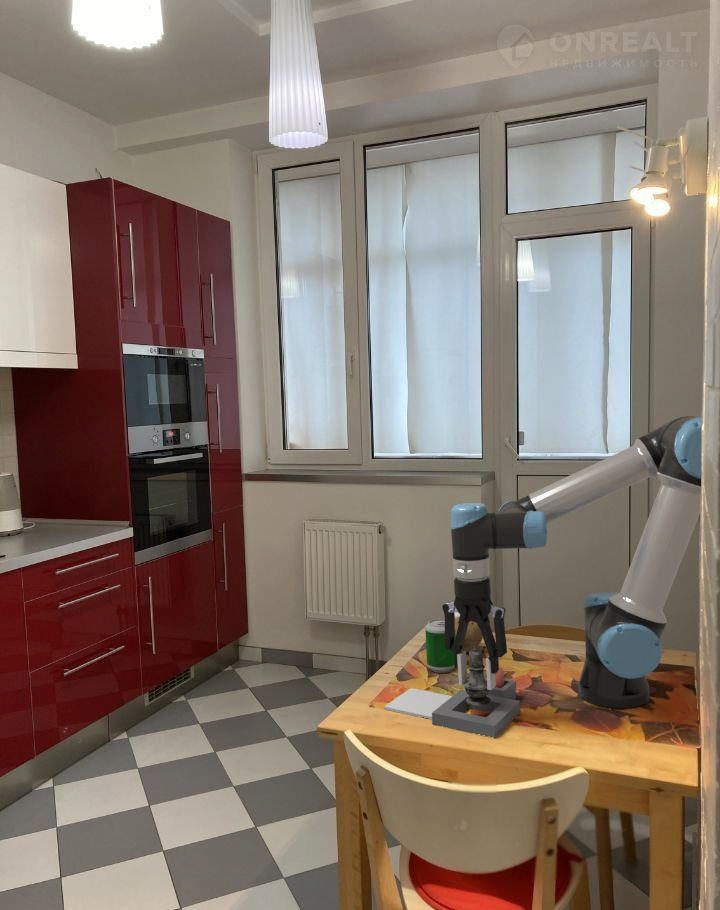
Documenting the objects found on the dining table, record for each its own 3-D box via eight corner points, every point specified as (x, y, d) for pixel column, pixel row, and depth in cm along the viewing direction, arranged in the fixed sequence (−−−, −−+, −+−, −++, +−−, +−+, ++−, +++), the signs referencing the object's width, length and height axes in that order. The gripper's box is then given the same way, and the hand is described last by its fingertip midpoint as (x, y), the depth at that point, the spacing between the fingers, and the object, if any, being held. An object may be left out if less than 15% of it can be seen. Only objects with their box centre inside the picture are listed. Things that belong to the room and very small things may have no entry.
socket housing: (531, 700, 166) (531, 683, 166) (494, 738, 148) (493, 718, 148) (474, 689, 173) (473, 673, 173) (432, 724, 156) (431, 705, 156)
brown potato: (442, 653, 199) (440, 617, 199) (460, 644, 206) (458, 609, 206) (471, 659, 194) (469, 622, 193) (488, 650, 200) (487, 613, 200)
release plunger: (506, 694, 167) (506, 668, 167) (500, 700, 164) (499, 673, 164) (491, 691, 169) (491, 666, 169) (485, 697, 166) (484, 671, 166)
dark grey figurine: (485, 708, 154) (482, 651, 153) (459, 703, 157) (456, 647, 156) (496, 697, 159) (493, 642, 158) (470, 693, 162) (467, 639, 161)
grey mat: (457, 699, 168) (457, 697, 168) (432, 719, 158) (432, 717, 158) (410, 690, 175) (410, 688, 175) (384, 709, 165) (384, 706, 165)
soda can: (455, 674, 184) (453, 627, 183) (425, 673, 185) (423, 626, 184) (457, 663, 191) (456, 618, 190) (428, 663, 193) (426, 617, 192)
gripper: (423, 577, 158) (429, 684, 160) (507, 585, 148) (512, 698, 149) (439, 570, 164) (445, 672, 166) (521, 576, 154) (526, 685, 155)
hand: (477, 684), depth 158 cm, fingers closed on dark grey figurine, 6 cm apart
